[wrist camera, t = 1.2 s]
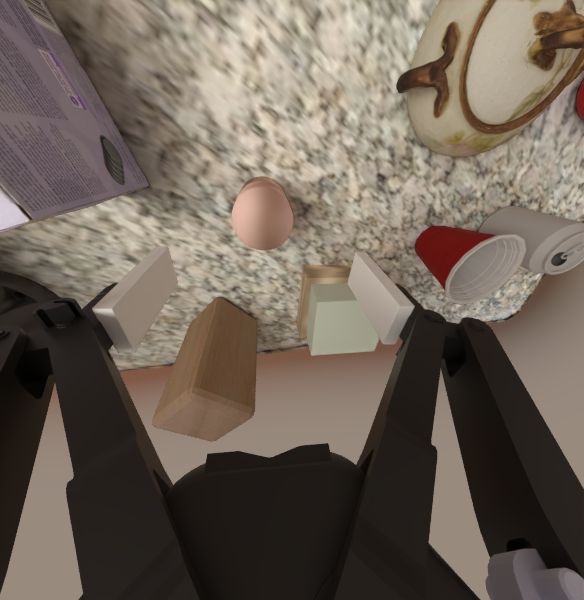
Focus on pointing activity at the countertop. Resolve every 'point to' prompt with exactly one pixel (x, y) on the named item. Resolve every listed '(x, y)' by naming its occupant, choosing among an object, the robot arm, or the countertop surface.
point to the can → (540, 238)
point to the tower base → (317, 276)
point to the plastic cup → (469, 260)
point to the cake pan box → (53, 125)
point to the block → (212, 375)
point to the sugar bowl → (490, 70)
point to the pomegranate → (580, 100)
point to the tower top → (337, 322)
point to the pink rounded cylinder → (262, 214)
